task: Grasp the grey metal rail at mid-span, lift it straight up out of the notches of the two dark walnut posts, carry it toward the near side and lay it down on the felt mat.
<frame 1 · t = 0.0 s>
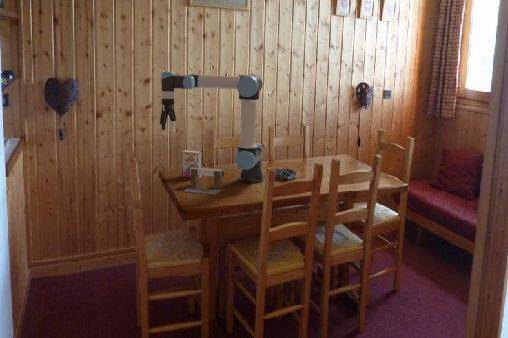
hand: (168, 133, 304), 28 cm above the table, fingers open, 13 cm apart
candy bar box: (191, 177, 315), on the table
rail: (206, 174, 294), point 7 cm above the table, touching post a, post b
mat: (202, 191, 285), on the table
post b: (195, 185, 297), on the table
post a: (217, 187, 295), on the table
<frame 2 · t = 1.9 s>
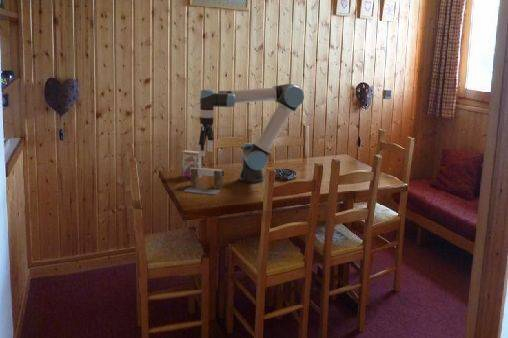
hand: (206, 153, 291), 20 cm above the table, fingers open, 13 cm apart
nothing on the table moved.
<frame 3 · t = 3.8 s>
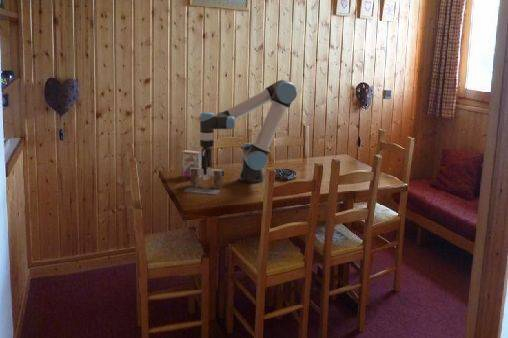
hand: (206, 178, 295), 5 cm above the table, fingers closed on rail, 3 cm apart
rail: (206, 174, 294), point 7 cm above the table, touching gripper, post b
everything else where it was.
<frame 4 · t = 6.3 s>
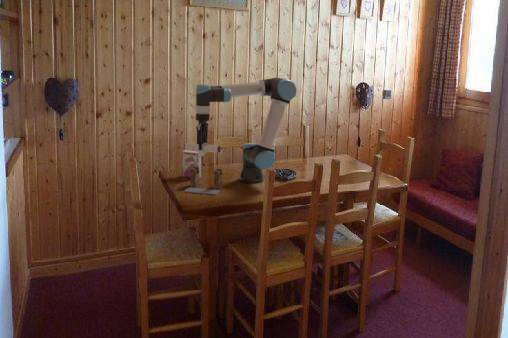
hand: (202, 154, 281), 21 cm above the table, fingers closed on rail, 3 cm apart
rail: (202, 150, 281), point 23 cm above the table, touching gripper
everything else where it was.
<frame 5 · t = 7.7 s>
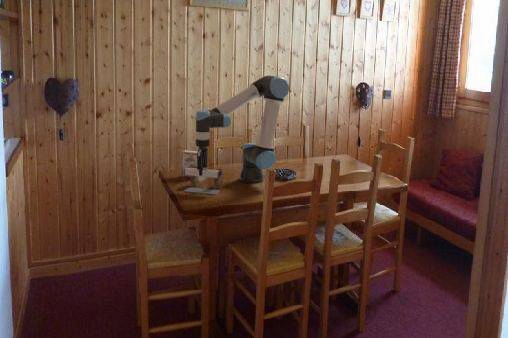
hand: (202, 179, 284), 7 cm above the table, fingers closed on rail, 3 cm apart
rail: (202, 175, 283), point 9 cm above the table, touching gripper
everything else where it was.
when the fingers open (2 cm above the table, at t = 8.8 s): rail drops 4 cm, resting on mat.
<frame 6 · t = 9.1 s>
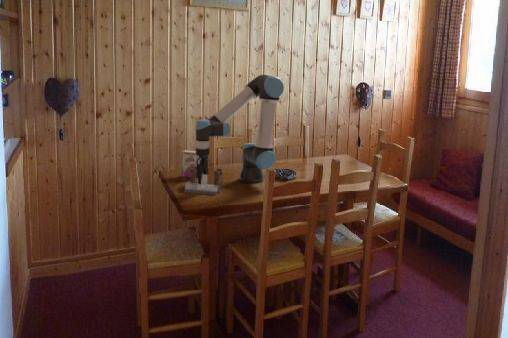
hand: (202, 187, 285), 2 cm above the table, fingers open, 8 cm apart
rail: (202, 190, 285), point 1 cm above the table, touching mat
everything else where it was.
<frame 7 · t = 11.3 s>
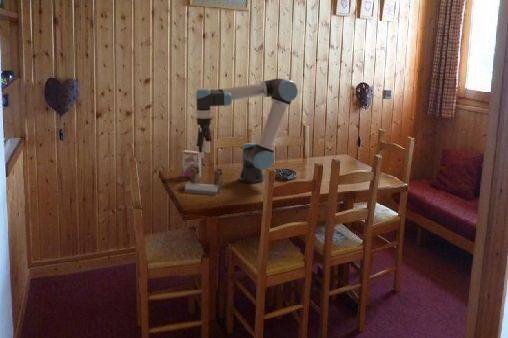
hand: (204, 155, 284), 20 cm above the table, fingers open, 13 cm apart
nothing on the table moved.
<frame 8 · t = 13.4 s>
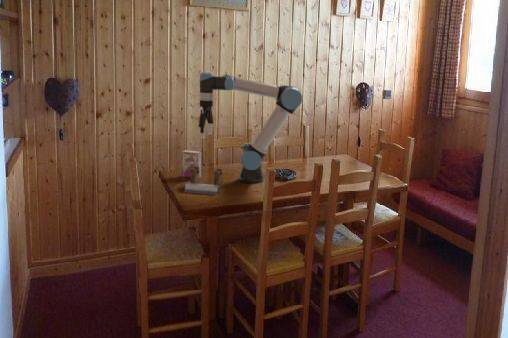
hand: (206, 136, 294), 29 cm above the table, fingers open, 13 cm apart
nothing on the table moved.
at the end: rail inside the target area on the mat (0.0 cm from its centre), point 0.6 cm above the mat's base; rail touching mat; the gripper is holding nothing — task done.
